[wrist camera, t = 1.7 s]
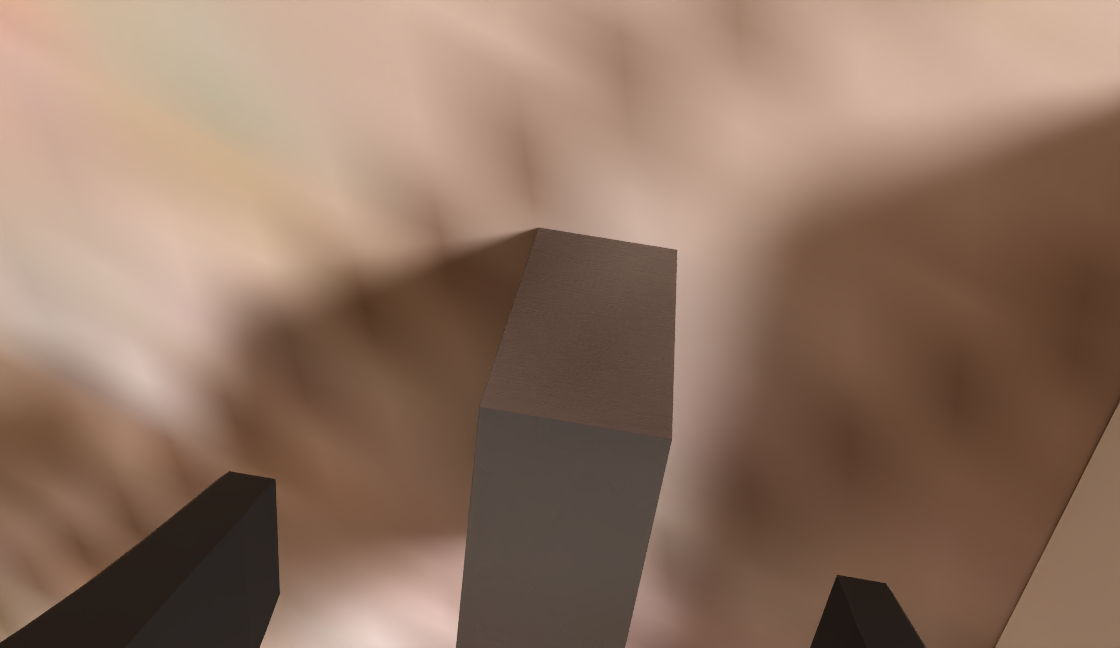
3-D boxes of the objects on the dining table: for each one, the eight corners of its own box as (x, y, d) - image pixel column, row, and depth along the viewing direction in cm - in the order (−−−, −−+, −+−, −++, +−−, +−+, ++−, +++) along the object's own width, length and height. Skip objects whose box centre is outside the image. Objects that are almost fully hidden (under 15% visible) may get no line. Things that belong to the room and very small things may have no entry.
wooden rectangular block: (623, 513, 18) (601, 748, 14) (506, 493, 18) (449, 721, 14) (676, 248, 15) (671, 438, 11) (539, 226, 15) (479, 406, 11)
